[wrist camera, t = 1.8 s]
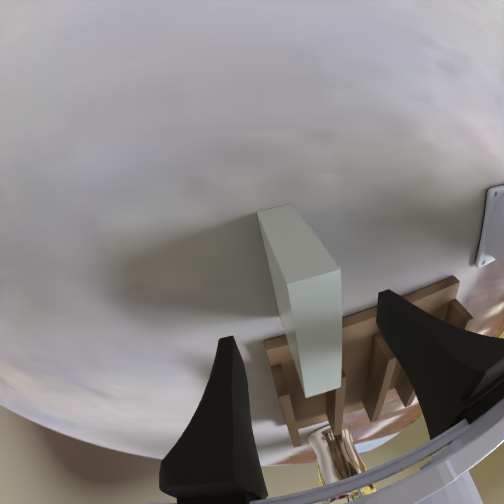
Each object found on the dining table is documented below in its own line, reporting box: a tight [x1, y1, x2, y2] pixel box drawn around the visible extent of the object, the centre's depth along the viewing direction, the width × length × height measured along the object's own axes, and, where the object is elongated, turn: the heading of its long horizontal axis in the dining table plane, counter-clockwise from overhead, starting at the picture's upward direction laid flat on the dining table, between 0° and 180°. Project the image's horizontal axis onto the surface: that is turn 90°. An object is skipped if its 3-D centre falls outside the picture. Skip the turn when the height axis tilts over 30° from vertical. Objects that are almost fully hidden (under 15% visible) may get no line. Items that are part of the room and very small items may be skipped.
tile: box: [257, 204, 342, 398], centre depth 15 cm, size 2×8×7 cm, turn 13°
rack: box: [264, 276, 473, 447], centre depth 23 cm, size 18×16×4 cm
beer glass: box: [308, 422, 377, 504], centre depth 25 cm, size 7×7×15 cm
